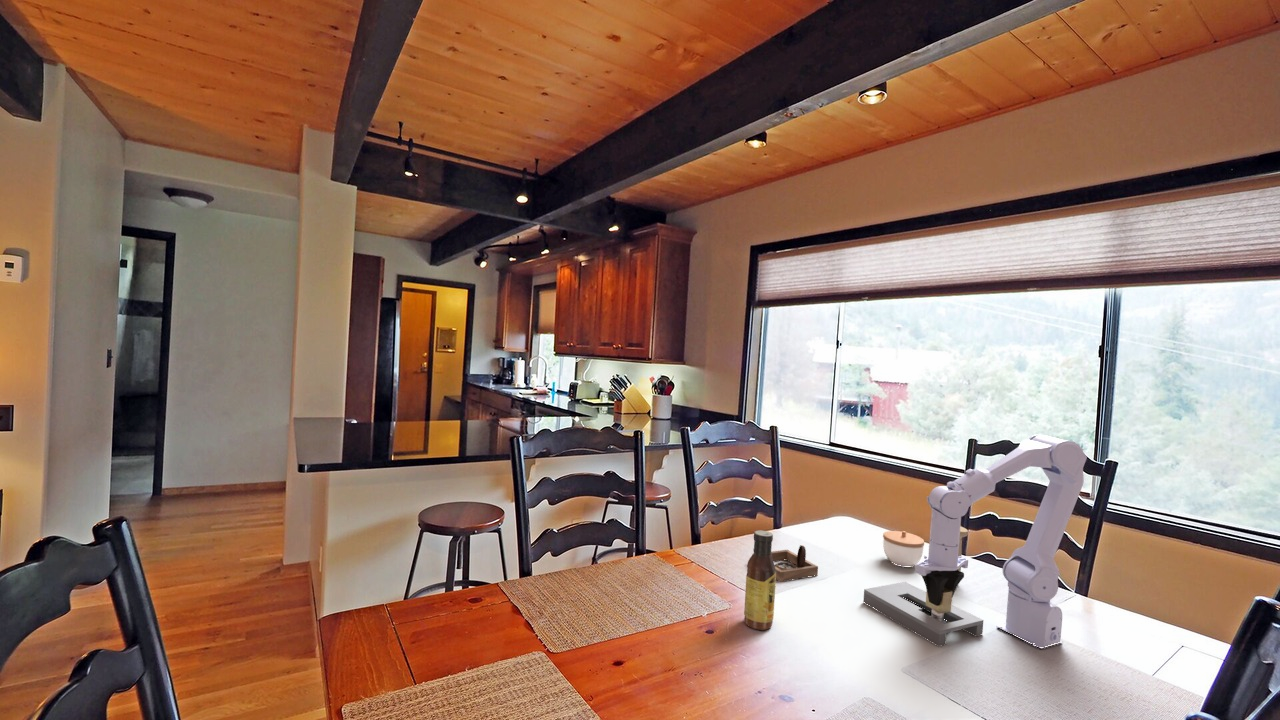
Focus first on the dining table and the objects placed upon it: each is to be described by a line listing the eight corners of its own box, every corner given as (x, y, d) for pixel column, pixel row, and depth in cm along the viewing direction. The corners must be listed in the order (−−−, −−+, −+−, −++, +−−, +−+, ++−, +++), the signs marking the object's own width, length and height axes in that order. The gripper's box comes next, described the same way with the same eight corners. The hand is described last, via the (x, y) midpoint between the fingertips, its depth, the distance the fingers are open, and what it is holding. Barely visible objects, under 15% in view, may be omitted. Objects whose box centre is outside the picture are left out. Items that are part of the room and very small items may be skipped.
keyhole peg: (954, 629, 121) (957, 591, 121) (939, 633, 119) (942, 594, 119) (934, 618, 126) (937, 582, 126) (919, 622, 124) (921, 585, 123)
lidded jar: (924, 562, 161) (926, 530, 161) (920, 574, 152) (922, 541, 151) (884, 553, 167) (886, 522, 166) (878, 564, 157) (880, 532, 157)
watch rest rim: (817, 575, 147) (818, 566, 147) (780, 581, 142) (780, 572, 142) (786, 558, 158) (787, 549, 158) (751, 563, 153) (751, 554, 153)
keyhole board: (982, 634, 120) (983, 620, 120) (938, 646, 114) (939, 630, 114) (904, 594, 138) (905, 581, 138) (863, 602, 133) (864, 589, 132)
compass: (772, 565, 153) (773, 539, 153) (801, 568, 152) (803, 542, 152) (776, 577, 145) (777, 550, 145) (806, 580, 144) (808, 552, 144)
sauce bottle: (773, 633, 116) (779, 540, 115) (743, 629, 117) (749, 536, 116) (772, 618, 122) (778, 530, 122) (743, 614, 123) (749, 527, 123)
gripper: (949, 532, 128) (945, 590, 129) (905, 539, 122) (901, 599, 123) (978, 543, 122) (974, 603, 122) (934, 550, 116) (929, 614, 116)
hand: (939, 602), depth 122 cm, fingers closed on keyhole peg, 3 cm apart
